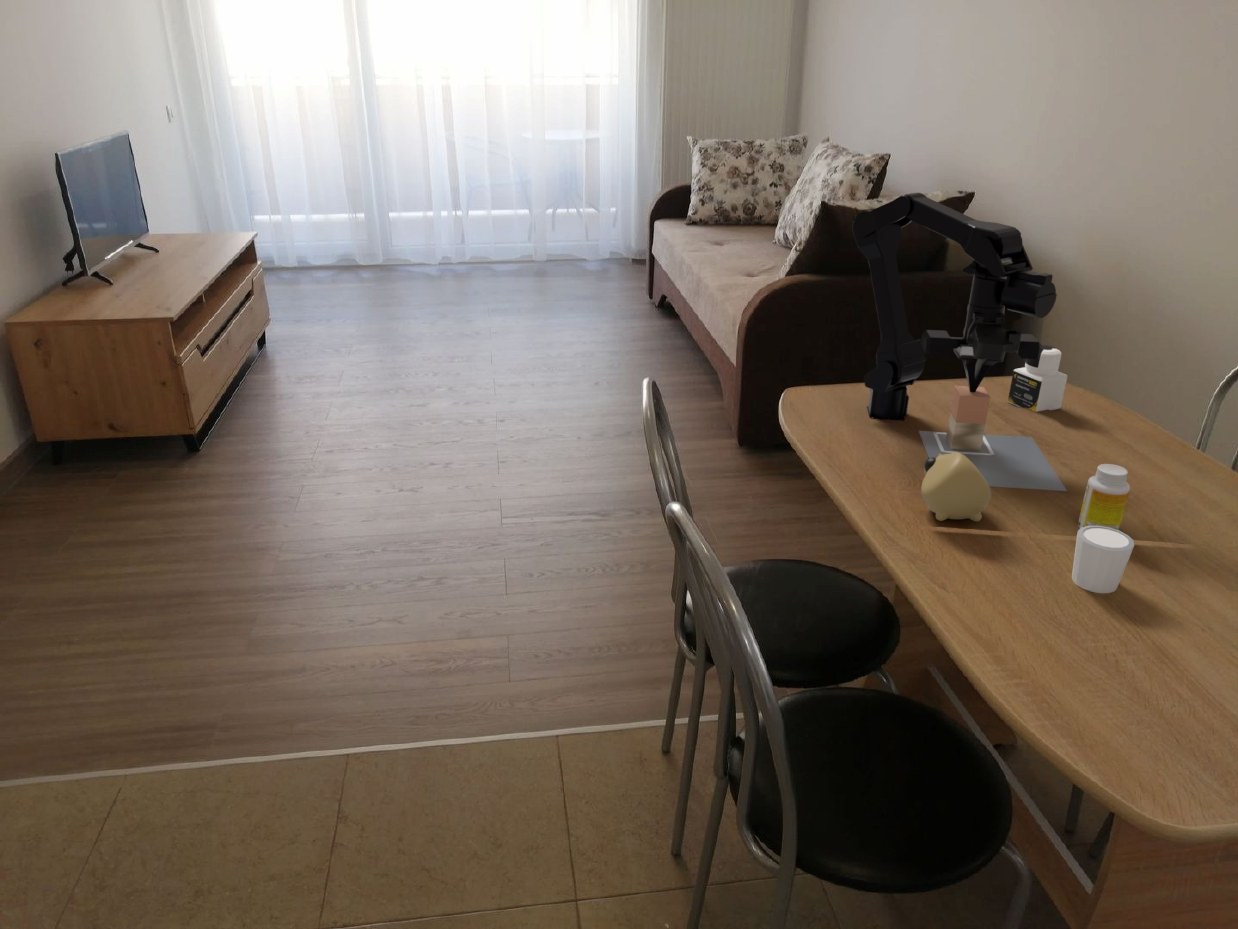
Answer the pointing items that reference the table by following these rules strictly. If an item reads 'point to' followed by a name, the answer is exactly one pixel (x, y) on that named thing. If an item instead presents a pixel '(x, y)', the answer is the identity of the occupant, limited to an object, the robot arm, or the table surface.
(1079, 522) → the supplement bottle
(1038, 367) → the medicine bottle
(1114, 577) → the white cylinder
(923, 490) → the toy pig
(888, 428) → the table surface
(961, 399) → the top block
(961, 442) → the base block
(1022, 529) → the table surface
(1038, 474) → the build mat
